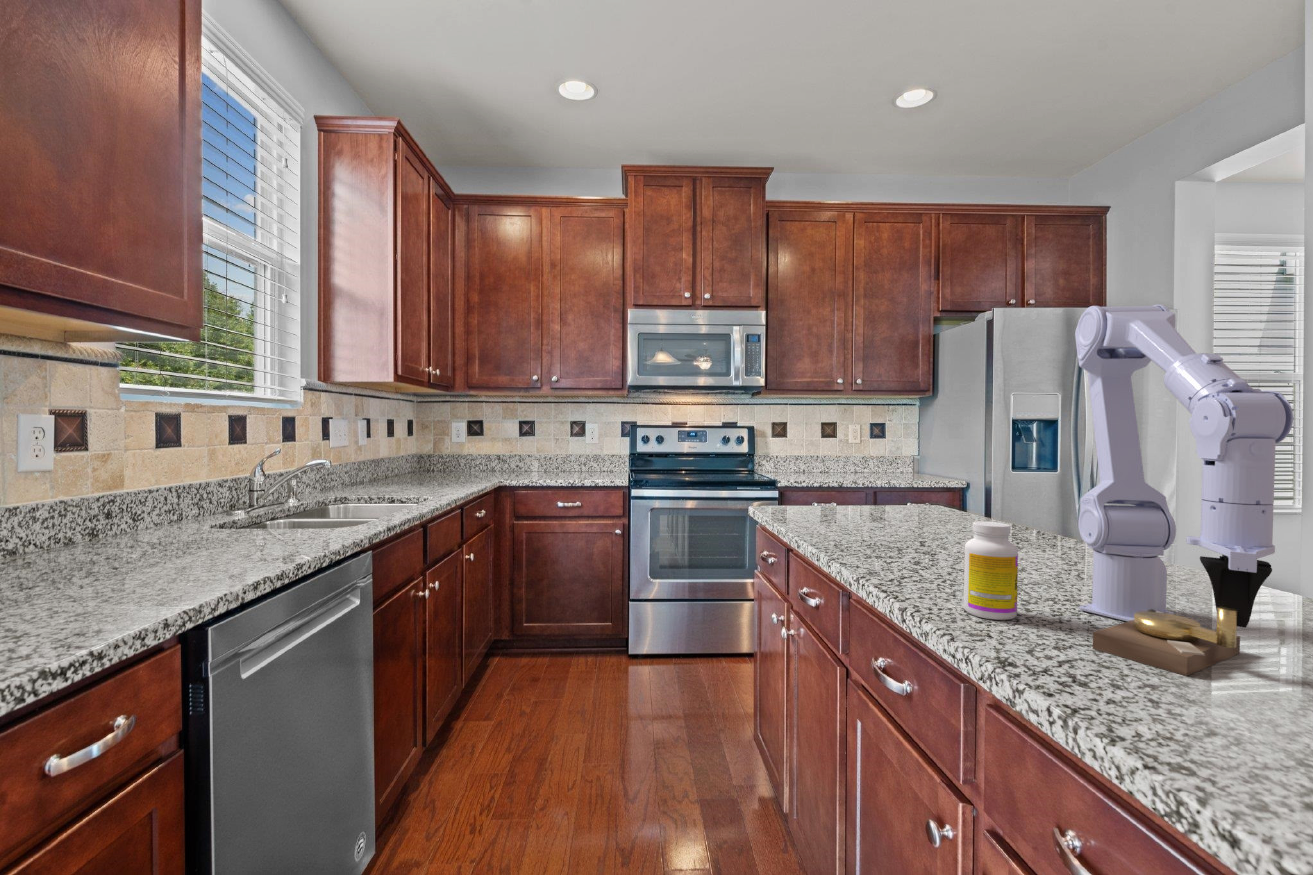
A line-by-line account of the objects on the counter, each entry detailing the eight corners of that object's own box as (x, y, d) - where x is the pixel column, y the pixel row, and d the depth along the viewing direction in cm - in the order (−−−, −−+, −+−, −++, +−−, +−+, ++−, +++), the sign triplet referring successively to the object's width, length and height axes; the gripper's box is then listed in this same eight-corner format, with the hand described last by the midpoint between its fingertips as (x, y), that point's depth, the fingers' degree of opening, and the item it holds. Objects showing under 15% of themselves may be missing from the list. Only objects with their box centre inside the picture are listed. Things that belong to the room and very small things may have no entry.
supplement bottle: (1024, 623, 82) (1026, 528, 81) (971, 619, 83) (973, 526, 83) (1006, 608, 88) (1008, 521, 88) (957, 605, 90) (959, 519, 89)
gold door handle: (1121, 625, 74) (1122, 589, 74) (1157, 621, 76) (1158, 585, 75) (1215, 655, 64) (1216, 613, 64) (1253, 649, 66) (1254, 608, 66)
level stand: (1148, 630, 79) (1149, 603, 79) (1246, 655, 71) (1247, 624, 71) (1092, 648, 72) (1093, 618, 72) (1194, 678, 64) (1195, 644, 64)
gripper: (1184, 493, 74) (1181, 602, 75) (1191, 505, 63) (1187, 634, 63) (1265, 497, 70) (1262, 614, 70) (1288, 511, 59) (1283, 650, 59)
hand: (1232, 624), depth 67 cm, fingers closed, pressing on gold door handle
